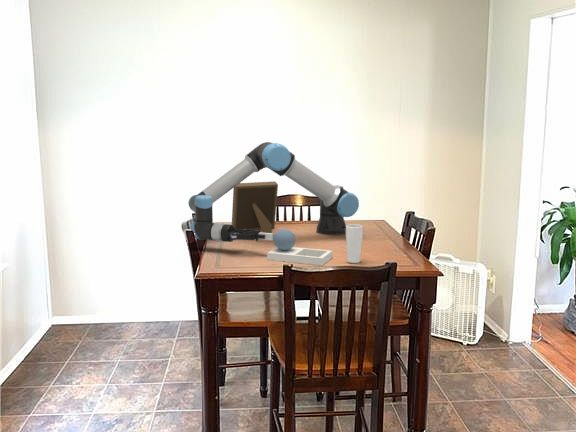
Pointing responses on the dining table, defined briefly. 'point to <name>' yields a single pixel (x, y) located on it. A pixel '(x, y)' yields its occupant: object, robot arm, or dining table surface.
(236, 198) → the photo frame
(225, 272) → the dining table surface
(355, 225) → the drinking glass
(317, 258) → the white tray
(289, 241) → the ball
